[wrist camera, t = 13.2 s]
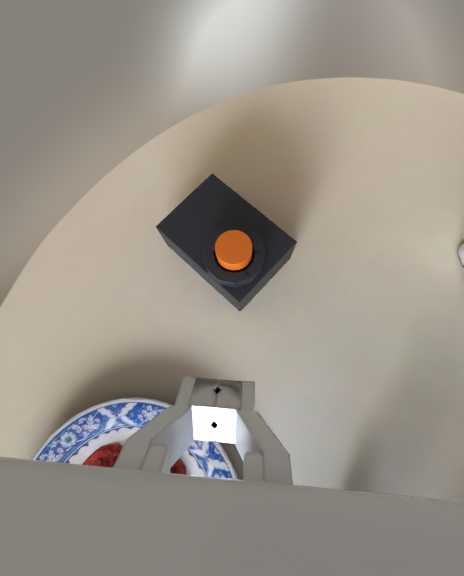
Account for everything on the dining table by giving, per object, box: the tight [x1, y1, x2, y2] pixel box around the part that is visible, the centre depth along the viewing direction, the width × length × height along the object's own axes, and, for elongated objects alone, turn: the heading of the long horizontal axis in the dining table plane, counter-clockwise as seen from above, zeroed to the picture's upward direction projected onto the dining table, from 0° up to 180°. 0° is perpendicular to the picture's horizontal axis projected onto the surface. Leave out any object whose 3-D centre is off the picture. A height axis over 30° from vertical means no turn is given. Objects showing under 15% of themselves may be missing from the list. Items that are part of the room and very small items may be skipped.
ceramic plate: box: [32, 397, 238, 480], centre depth 33 cm, size 26×26×3 cm
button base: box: [156, 174, 296, 311], centre depth 38 cm, size 14×10×8 cm
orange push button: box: [215, 230, 252, 271], centre depth 33 cm, size 4×4×2 cm
